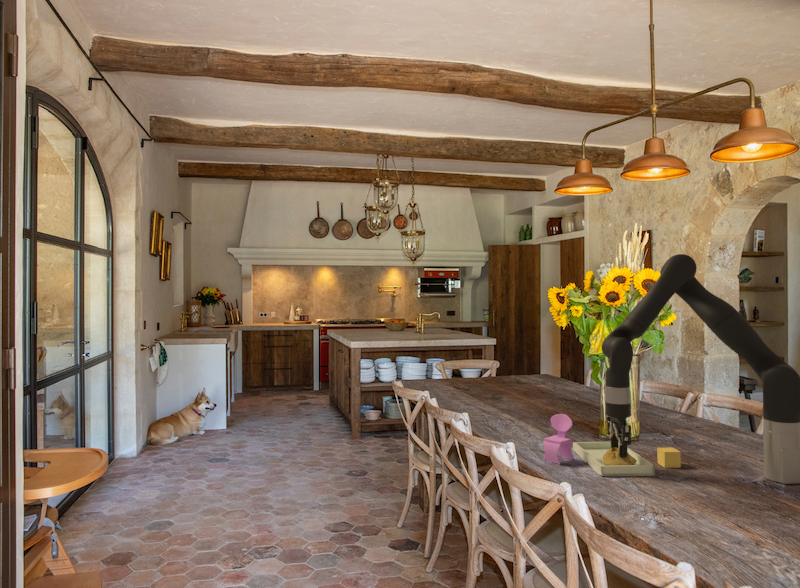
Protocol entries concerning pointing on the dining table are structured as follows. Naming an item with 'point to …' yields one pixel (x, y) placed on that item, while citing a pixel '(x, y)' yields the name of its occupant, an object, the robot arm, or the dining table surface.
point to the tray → (594, 458)
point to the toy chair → (559, 439)
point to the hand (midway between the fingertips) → (619, 453)
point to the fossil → (617, 458)
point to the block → (669, 457)
